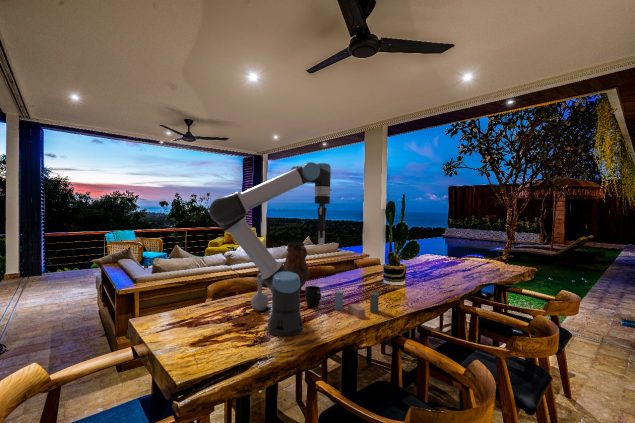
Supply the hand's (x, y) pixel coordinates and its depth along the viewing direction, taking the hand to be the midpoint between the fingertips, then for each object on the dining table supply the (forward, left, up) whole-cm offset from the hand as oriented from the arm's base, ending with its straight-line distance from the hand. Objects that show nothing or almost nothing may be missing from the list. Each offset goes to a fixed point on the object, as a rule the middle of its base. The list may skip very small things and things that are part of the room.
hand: (321, 244), depth 144 cm
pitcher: (+6, +38, -35) cm, 52 cm away
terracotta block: (+16, -3, -33) cm, 37 cm away
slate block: (+13, +3, -34) cm, 37 cm away
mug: (+3, +11, -35) cm, 36 cm away
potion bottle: (-23, +22, -35) cm, 47 cm away
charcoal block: (+27, -9, -34) cm, 45 cm away
